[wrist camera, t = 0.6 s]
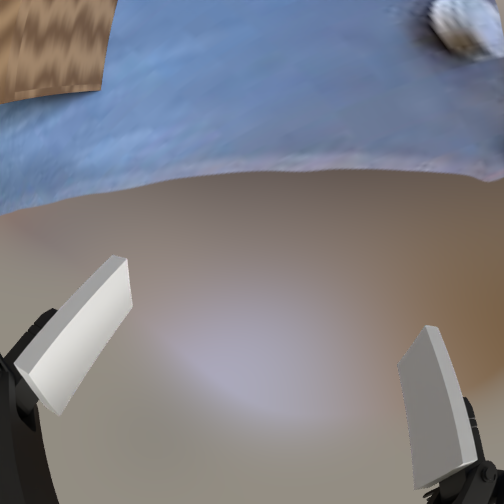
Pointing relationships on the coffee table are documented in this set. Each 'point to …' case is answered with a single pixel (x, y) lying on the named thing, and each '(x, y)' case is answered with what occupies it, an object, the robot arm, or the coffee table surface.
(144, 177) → the coffee table surface
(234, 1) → the coffee table surface
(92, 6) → the shelf
